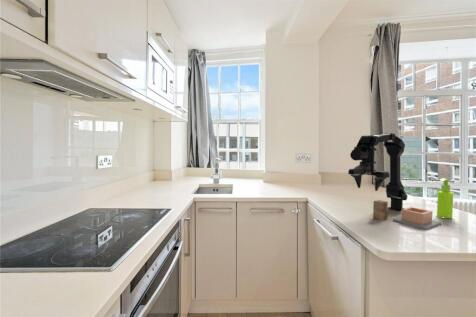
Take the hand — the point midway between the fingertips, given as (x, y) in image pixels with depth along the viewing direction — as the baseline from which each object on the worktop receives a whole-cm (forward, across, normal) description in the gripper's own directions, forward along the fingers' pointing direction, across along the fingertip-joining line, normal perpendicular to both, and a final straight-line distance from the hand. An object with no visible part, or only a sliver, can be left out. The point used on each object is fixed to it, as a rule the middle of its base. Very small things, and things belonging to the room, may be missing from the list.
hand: (367, 189), depth 118 cm
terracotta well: (+15, +17, +12) cm, 26 cm away
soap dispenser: (+15, +20, +34) cm, 42 cm away
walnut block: (+15, +5, +3) cm, 16 cm away
